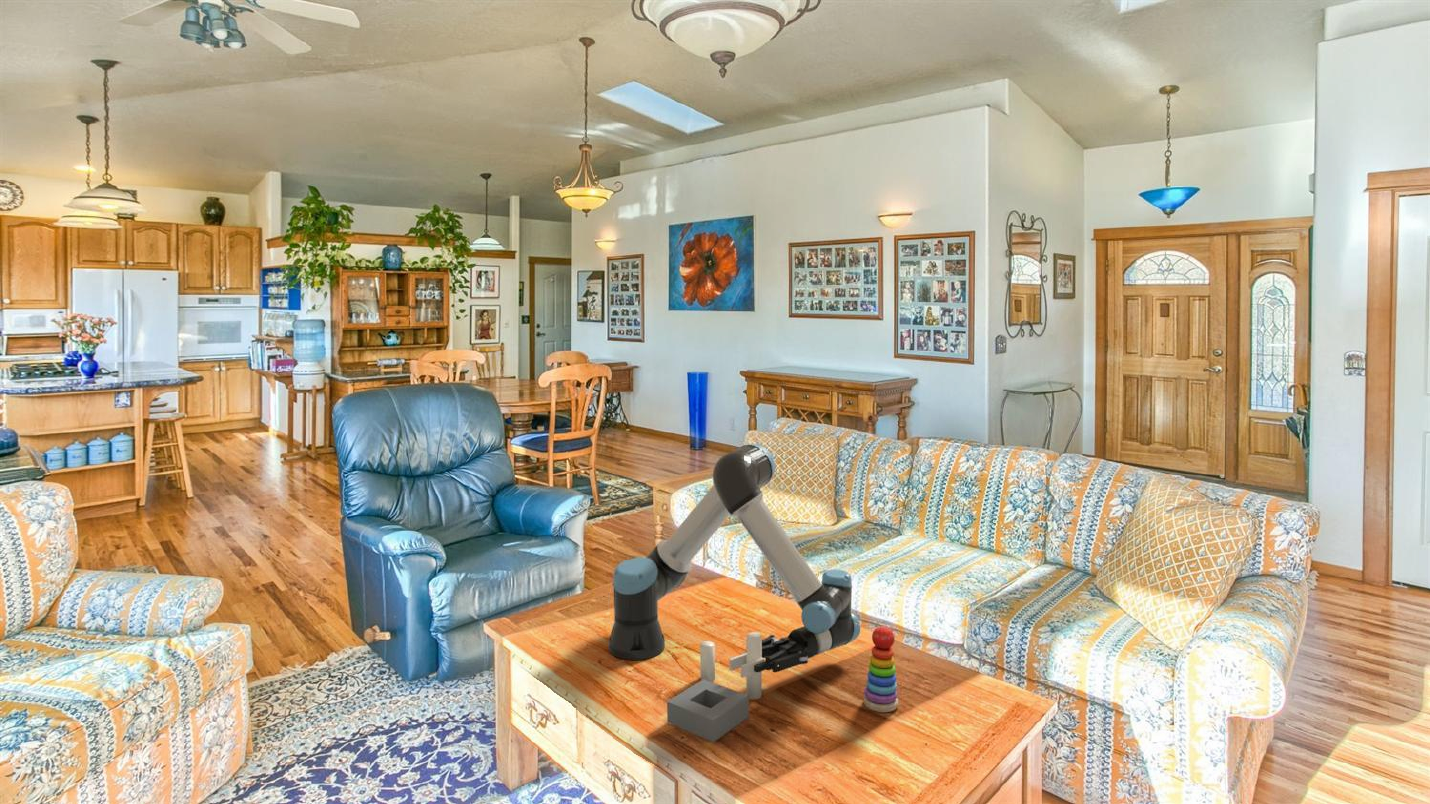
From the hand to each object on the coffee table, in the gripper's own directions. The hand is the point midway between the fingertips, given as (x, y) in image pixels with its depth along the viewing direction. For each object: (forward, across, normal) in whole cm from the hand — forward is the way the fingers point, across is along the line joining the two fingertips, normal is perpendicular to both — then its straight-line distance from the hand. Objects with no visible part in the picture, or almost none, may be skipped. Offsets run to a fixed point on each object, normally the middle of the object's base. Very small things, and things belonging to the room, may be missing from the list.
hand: (736, 668), depth 182 cm
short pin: (-2, +14, -8) cm, 16 cm away
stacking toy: (-26, -22, -9) cm, 35 cm away
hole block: (+10, -2, -8) cm, 13 cm away
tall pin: (-5, 0, -8) cm, 10 cm away
